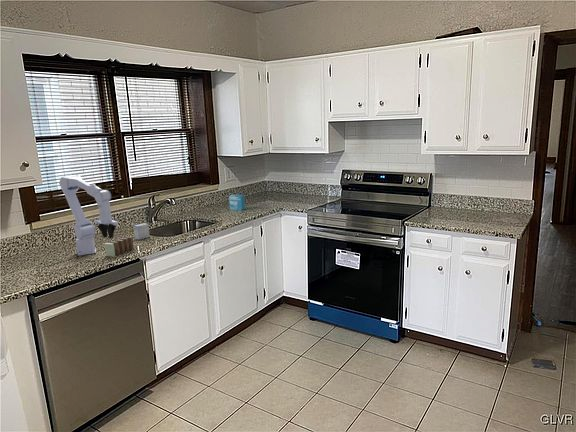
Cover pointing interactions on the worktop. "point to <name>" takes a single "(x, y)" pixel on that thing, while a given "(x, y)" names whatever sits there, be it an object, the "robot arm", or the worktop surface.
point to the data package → (237, 202)
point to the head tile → (130, 242)
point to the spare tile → (109, 249)
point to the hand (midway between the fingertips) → (108, 237)
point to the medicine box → (141, 231)
